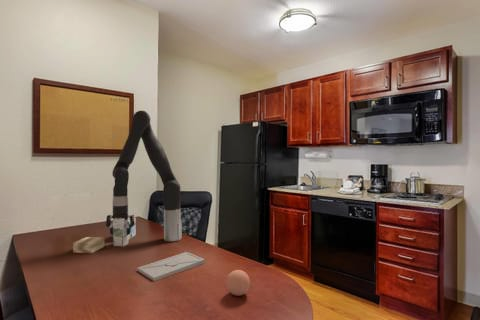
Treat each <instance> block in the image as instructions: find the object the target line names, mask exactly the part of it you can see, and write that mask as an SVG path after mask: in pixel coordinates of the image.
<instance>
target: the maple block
mask: <svg viewBox="0 0 480 320" xmlns="http://www.w3.org/2000/svg"><path fill="white" fill-rule="evenodd" d="M104 247H105V237H103V236H102V237H101V236H100V237H98V236H96V237H95V236H94V237H93V236H85V237H83V238H81V239H79V240H76V241H74V242H73V243H72V253H76V254H77V253H78V254H79V253H80V254H94V253H95V252H97V251H99V250H101V249H102V248H104Z"/></svg>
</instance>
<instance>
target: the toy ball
mask: <svg viewBox="0 0 480 320" xmlns="http://www.w3.org/2000/svg"><path fill="white" fill-rule="evenodd" d="M225 284H226V288H227V290H228V291H229V293H230V294H232V295H233V296H237V297H238V296H242V295H245V294H246V293H247V291H249V289H250V286H251V280H250V276H249V275H248V274H247V272H245V271H244V270H241V269H235V270H233V271H231V272H230V273H229V274H228V275H227V277H226V281H225Z"/></svg>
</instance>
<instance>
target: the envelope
mask: <svg viewBox="0 0 480 320" xmlns="http://www.w3.org/2000/svg"><path fill="white" fill-rule="evenodd" d="M205 263H206V261H205V258H202V257H200V256H198V255H195V254H193V253H190V252H188V251H185V252H181V253H179V254H175V255H173V256H169V257H166V258H163V259H159V260H158V261H154V262H152V263H148V264H145V265H142V266H138V267H137V271H138V272H139V273H140V274H142V275H144V276H145V277H147V278H148V279H149V280H151V281H153V282H155V281H159V280H162V279H164V278H167V277H170V276H173V275H176V274H179V273H182V272H185V271H187V270H190V269H192V268H195V267H199V266H201V265H204V264H205Z"/></svg>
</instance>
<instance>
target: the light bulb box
mask: <svg viewBox="0 0 480 320" xmlns="http://www.w3.org/2000/svg"><path fill="white" fill-rule="evenodd" d="M128 221H129V223H130V219H129V218H128ZM136 221H137V218H136V217H135V216H134V224H135V225H134V226H133V227H131V233H130V234H129V235H128V241H130V240H131V239H132V238H133V237H135V236H136V233H137V232H136V229H137V228H136V227H137V226H136Z"/></svg>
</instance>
